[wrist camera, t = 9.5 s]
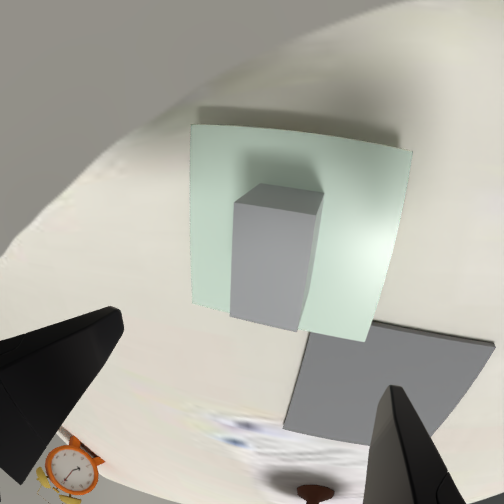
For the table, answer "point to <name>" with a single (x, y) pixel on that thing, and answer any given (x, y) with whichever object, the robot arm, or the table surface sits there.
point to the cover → (293, 226)
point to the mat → (380, 379)
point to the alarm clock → (70, 471)
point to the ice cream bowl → (314, 493)
